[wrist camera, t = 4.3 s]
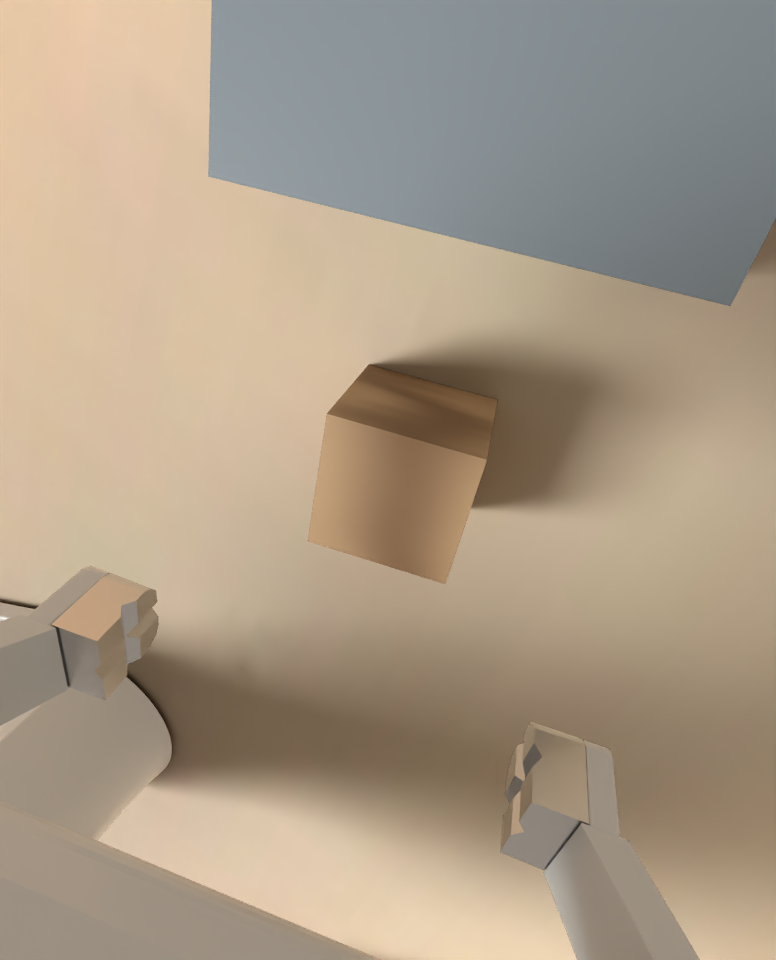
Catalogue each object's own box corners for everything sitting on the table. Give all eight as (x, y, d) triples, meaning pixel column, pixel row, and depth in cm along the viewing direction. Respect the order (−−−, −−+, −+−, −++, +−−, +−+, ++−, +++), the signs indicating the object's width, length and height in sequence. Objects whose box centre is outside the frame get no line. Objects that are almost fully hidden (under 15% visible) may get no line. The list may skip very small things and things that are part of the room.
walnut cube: (349, 473, 24) (307, 541, 19) (369, 363, 21) (326, 413, 17) (462, 507, 23) (445, 584, 19) (497, 399, 20) (487, 459, 16)
